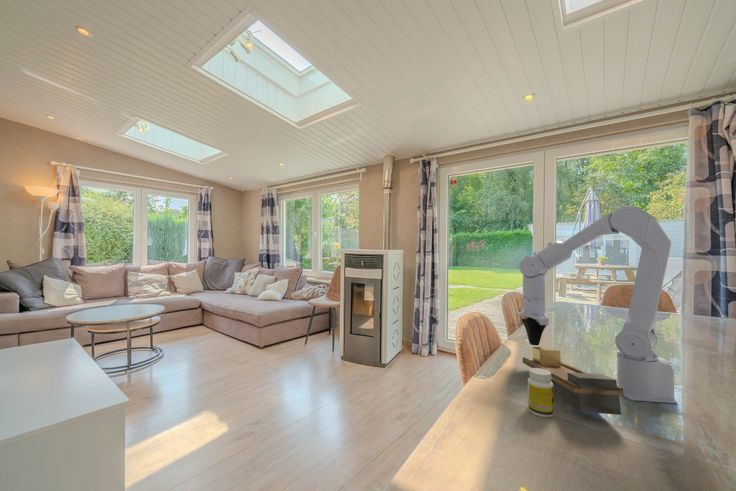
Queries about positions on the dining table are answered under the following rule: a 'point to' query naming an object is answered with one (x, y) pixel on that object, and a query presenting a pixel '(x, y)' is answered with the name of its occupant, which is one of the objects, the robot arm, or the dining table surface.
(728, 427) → the dining table surface
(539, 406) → the supplement bottle
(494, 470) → the dining table surface
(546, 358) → the block
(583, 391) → the beam
